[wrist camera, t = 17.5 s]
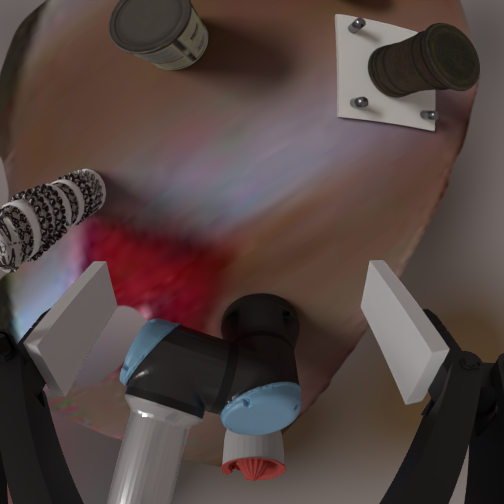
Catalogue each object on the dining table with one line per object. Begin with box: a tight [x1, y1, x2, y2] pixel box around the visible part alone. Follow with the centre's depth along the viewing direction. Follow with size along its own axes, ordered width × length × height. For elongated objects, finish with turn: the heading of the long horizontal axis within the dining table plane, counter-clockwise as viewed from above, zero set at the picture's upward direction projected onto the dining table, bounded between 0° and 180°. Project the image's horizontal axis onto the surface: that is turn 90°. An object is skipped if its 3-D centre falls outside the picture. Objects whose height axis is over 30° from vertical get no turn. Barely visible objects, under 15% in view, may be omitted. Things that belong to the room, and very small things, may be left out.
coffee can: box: [109, 0, 208, 70], centre depth 30 cm, size 10×10×14 cm
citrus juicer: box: [221, 429, 286, 481], centre depth 64 cm, size 16×17×20 cm
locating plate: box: [335, 14, 440, 131], centre depth 36 cm, size 18×18×5 cm
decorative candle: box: [0, 169, 106, 273], centre depth 35 cm, size 9×9×25 cm
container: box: [368, 23, 480, 98], centre depth 29 cm, size 9×9×18 cm
